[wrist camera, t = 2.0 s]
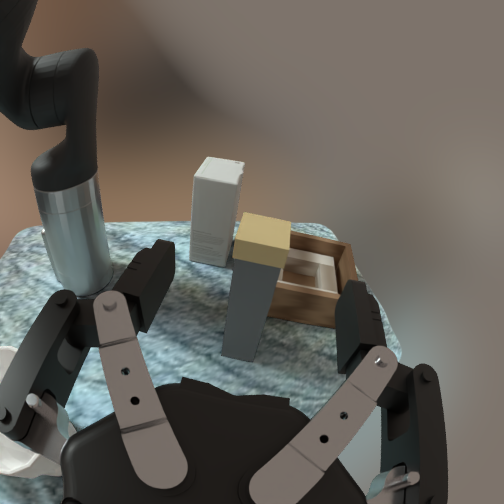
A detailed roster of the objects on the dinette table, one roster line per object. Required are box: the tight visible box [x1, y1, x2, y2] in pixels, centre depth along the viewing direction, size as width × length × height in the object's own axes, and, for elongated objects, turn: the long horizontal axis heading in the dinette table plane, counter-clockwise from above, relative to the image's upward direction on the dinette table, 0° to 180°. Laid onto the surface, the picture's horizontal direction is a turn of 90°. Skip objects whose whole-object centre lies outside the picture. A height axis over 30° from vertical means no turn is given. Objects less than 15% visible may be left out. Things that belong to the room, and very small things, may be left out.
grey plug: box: [221, 212, 291, 362], centre depth 30 cm, size 4×4×18 cm
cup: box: [0, 346, 77, 479], centre depth 16 cm, size 12×12×11 cm
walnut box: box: [267, 231, 358, 329], centre depth 44 cm, size 16×14×6 cm
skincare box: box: [189, 157, 245, 267], centre depth 45 cm, size 8×7×16 cm
